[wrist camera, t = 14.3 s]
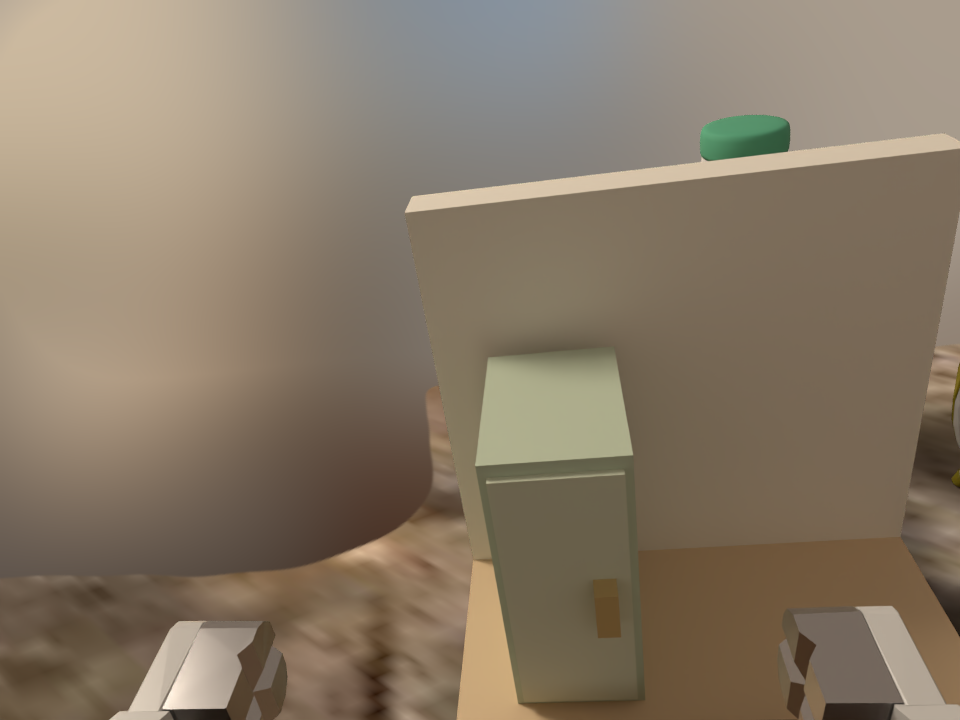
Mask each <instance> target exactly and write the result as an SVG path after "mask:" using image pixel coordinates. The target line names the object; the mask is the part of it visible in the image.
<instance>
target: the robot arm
mask: <svg viewBox="0 0 960 720" xmlns="http://www.w3.org/2000/svg"><path fill="white" fill-rule="evenodd" d="M782 627H783V630H784V633H785V636H786V639H785V640H784V641H783V642H781V643H780V644H779V648H778V658H777V662H778V675H779V682H780V686H781V691H782V695H783V698H784V701H785V705H786V708H787V710H789V711H790V712H791V713H792V714H793V715H794V716H795V717H796V718H797V719H798V720H960V706H959V705H958V704H946V702H945V700H944V698H943V696H942V694H941V692H940V690H939V688H938V687H937V685H936V683H935V681H934V679H933V677H932V675H931V673H930V671H929V669H928V668H927V666H926V664H925V662H924V660H923V658H922V656H921V654H920V652H919V650H918V649H917V647H916V645H915V643H914V641H913V639H912V637H911V635H910V633H909V631H908V630H907V628H906V626H905V624H904V622H903V620H902V618H901V616H900V614H899V612H898V611H897V610H896V609H895V608H893V607H892V606H865V607H853V606H841V607H813V608H787V609H786V611H785V612H784V614H783V620H782ZM274 638H275V633H274V631H273V628H272V626H271V624H270V622H266V621H179V622H177V623H176V624H175V625H174V626H173V627H172V628H171V629H170V630H169V632H168V634H167V636H166V638H165V640H164V642H163V644H162V646H161V648H160V650H159V652H158V654H157V656H156V658H155V660H154V662H153V664H152V665H151V667H150V669H149V671H148V673H147V675H146V677H145V679H144V681H143V683H142V685H141V687H140V689H139V691H138V693H137V695H136V697H135V699H134V701H133V703H132V704H131V706H130V708H129V710H128V711H119V712H118V713H117V714H116V715H115V716H113V717H112V718H111V719H110V720H274V719H275V718H276V717H277V716H278V715H279V714H280V712H281V709H282V706H283V702H284V699H285V695H286V685H287V669H286V663H285V660H284V657H283V654H282V653H281V652H280V651H278V650H277V649H276V648H274V647H273V646H272V644H273V641H274Z"/></svg>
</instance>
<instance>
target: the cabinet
mask: <svg viewBox="0 0 960 720" xmlns="http://www.w3.org/2000/svg"><path fill="white" fill-rule="evenodd" d="M475 468H476V474H477V479H478V485H479V490H480V496H481V501H482V507H483V512H484V518H485V523H486V529H487V534H488V540H489V545H490V551H491V556H492V562H493V567H494V573H495V578H496V584H497V589H498V595H499V601H500V606H501V612H502V617H503V623H504V628H505V634H506V639H507V645H508V650H509V656H510V661H511V667H512V672H513V678H514V683H515V689H516V694H517V700H518V704H526V703H562V702H599V701H636V700H645V683H644V662H643V642H642V622H641V602H640V581H639V561H638V541H637V521H636V500H635V480H634V460H633V451H632V445H631V440H630V434H629V428H628V423H627V417H626V411H625V406H624V400H623V394H622V389H621V383H620V377H619V372H618V366H617V360H616V355H615V349H614V346H612V347H600V348H589V349H578V350H566V351H555V352H544V353H532V354H521V355H510V356H498V357H488V363H487V372H486V380H485V388H484V397H483V405H482V413H481V422H480V430H479V438H478V447H477V455H476V463H475Z"/></svg>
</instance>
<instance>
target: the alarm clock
mask: <svg viewBox="0 0 960 720" xmlns="http://www.w3.org/2000/svg"><path fill="white" fill-rule="evenodd" d="M952 423H953V428H954V432H955V437H956V440H957V444H958V446H959V448H960V364H959V367H958V372H957V378H956V384H955V390H954V396H953V406H952ZM952 482H953V484H954V485H956V486H958V487H960V469H959V470H958V471H957V472H956V473H955V475H954V476H953V477H952Z"/></svg>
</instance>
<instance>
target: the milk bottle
mask: <svg viewBox="0 0 960 720" xmlns="http://www.w3.org/2000/svg"><path fill="white" fill-rule="evenodd" d="M789 144H790V125H789V123H788V121H786V120H785V119H783V118H780V117H774V116H767V115H744V116H735V117H728V118H724V119H720V120H717V121H713V122H711V123H709V124H707V125H705V126H704V127H703V129H702V131H701V136H700V153H701V156H702V161H701V162H706V161H715V160H723V159H732V158H740V157H749V156H757V155H765V154H774V153H782V152H788V149H789Z"/></svg>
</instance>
